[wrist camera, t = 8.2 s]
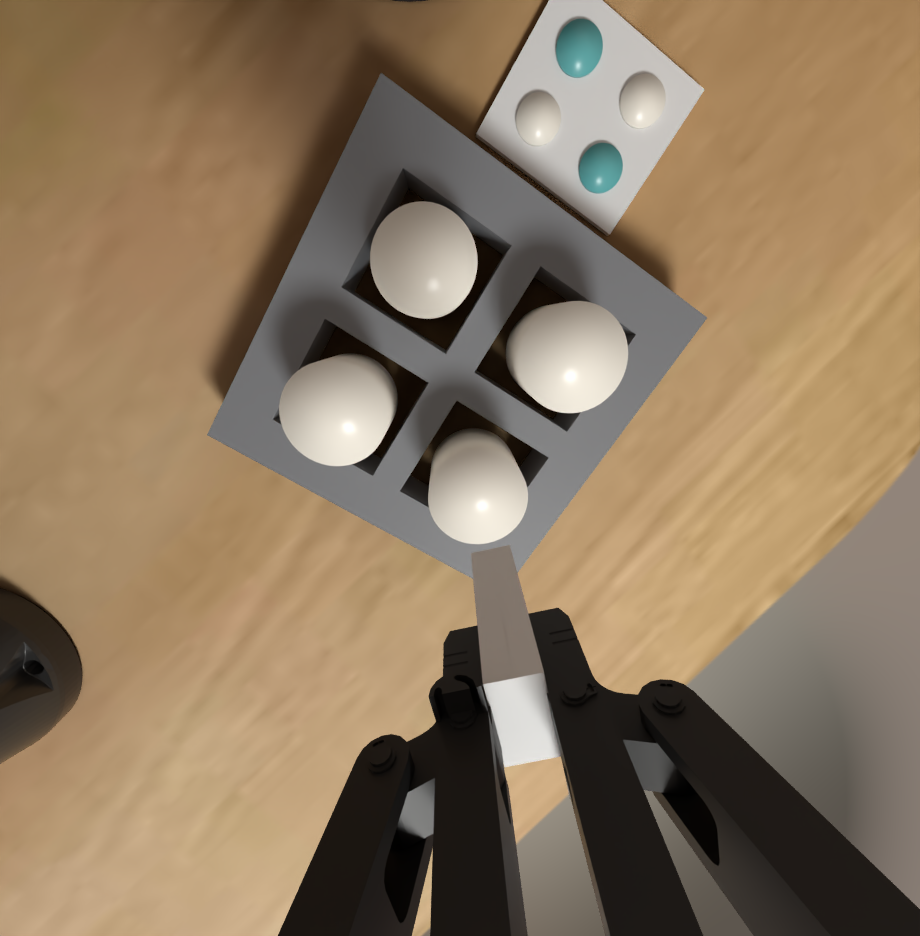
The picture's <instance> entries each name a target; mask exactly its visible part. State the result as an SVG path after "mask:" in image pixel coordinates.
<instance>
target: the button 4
mask: <svg viewBox="0 0 920 936" xmlns="http://www.w3.org/2000/svg"><path fill="white" fill-rule="evenodd" d="M506 362H507V366H508V369H509V372H510V374H511V376H512V378H513V379H514V381H515V382H516V383H517V384H518V385H519V386H520V387H521V388H522V389H523V390H524V391H526V392H527V393H528V394H529V395H530V396H531V397H532V398H533V399H535V400H536V401H537V402H538V403H540V404H541V405H542V406H544V407H546V408H548V409H550V410H553V411H556V412H560V413H578V412H583V411H586V410H589V409H591V408H594V407H596V406H597V405H599V404H601V403H602V402H603V401H605V400H606V399H607V398H608V397H609V396H610V395H611V394H612V393H613V392H614V391H615V390H616V388H617V387H618V385H619V384H620V382H621V380H622V378H623V376H624V373H625V370H626V366H627V362H628V344H627V339H626V336H625V333H624V331H623V328H622V326H621V325H620V323H619V322H618V320H617V319H616V318H615V317H614V316H613V315H612V314H611V313H610V312H609V311H608V310H606V309H605V308H603V307H601V306H599V305H597V304H594V303H591V302H586V301H570V302H564V303H558V304H552V305H546V306H541V307H538V308H535V309H533V310H531V311H530V312H528V313H526V314H525V315H524V316H523V317H522V318H521V319H520V320H519V321H518V322H517V323H516V324H515V326H514V327H513V329H512V331H511V333H510V335H509V338H508V341H507V345H506Z"/></svg>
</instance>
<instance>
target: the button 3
mask: <svg viewBox="0 0 920 936" xmlns="http://www.w3.org/2000/svg"><path fill="white" fill-rule="evenodd" d="M527 503H528V490H527V485H526V482H525V479H524V477H523V475H522V473H521V471H520V469H519V467H518V465H517V463H516V461H515V459H514V457H513V455H512V453H511V451H510V449H509V447H508V446H507V444H506V443H505V442H504V441H503V440H502V439H501V438H500V437H499V436H497V435H496V434H494V433H492V432H490V431H487V430H484V429H478V428H469V429H463V430H460V431H457V432H455V433H453V434H451V435H449V436H448V437H447V438H445V439H444V440H443V441H442V442H441V443H440V445H439V446H438V447H437V449H436V451H435V453H434V456H433V459H432V464H431V473H430V483H429V492H428V505H429V510H430V513H431V516H432V518H433V520H434V521H435V523H436V524H437V526H438V527H439V528H440V529H441V530H442V531H443V532H444V533H445V534H447V535H448V536H450V537H451V538H453V539H455V540H457V541H460V542H463V543H468V544H485V543H490V542H494V541H496V540H499V539H501V538H503V537H505V536H506V535H508V534H509V533H510V532H512V531H513V530H514V529H515V528H516V527H517V525H518V524H519V523H520V521H521V520H522V518H523V516H524V514H525V511H526V508H527Z"/></svg>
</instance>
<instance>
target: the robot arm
mask: <svg viewBox="0 0 920 936" xmlns="http://www.w3.org/2000/svg"><path fill="white" fill-rule="evenodd" d="M471 560H472V571H473V582H474V593H475V603H476V614H477V625H478V626H473V627H468V628H463V629H458V630H454V631H450V632H449V634H448V636H447V638H446V640H445V642H444V654H443V656H444V658H443V667H444V668H443V677H442V678H440V679H439V680H437V681H436V682H435V684H434V685H433V686H432V688H431V690H430V693H429V700H430V703H431V706H432V709H433V713H434V716H435V719H436V723H435V724H434V725H433V726H432V727H431V728H430V729H429V730H428V731H426V732H425V733H423V734H421V735H420V736H418V737H416V738H414V739H412V740H410V741H408V742H406V741H405V740H404V739H403V738H402V737H401V736H397V735H393V734H390V735H384V736H381V737H379V738H377V739H375V740H372V741H371V742H370V743H369V744H368V745H367V746H365V747H364V748H363V750H362V751H361V753H360V754H359V756H358V757H357V759H356V762H355V764H354V766H353V768H352V771H351V773H350V775H349V777H348V780H347V782H346V784H345V786H344V789H343V791H342V793H341V795H340V798H339V800H338V802H337V804H336V806H335V809H334V811H333V813H332V815H331V818H330V820H329V822H328V824H327V827H326V829H325V831H324V833H323V836H322V838H321V840H320V842H319V845H318V847H317V849H316V851H315V854H314V856H313V858H312V860H311V863H310V865H309V867H308V869H307V872H306V874H305V876H304V878H303V880H302V883H301V885H300V887H299V889H298V892H297V894H296V896H295V898H294V901H293V903H292V905H291V907H290V910H289V912H288V914H287V916H286V919H285V921H284V923H283V925H282V928H281V930H280V932H279V934H278V936H412V932H413V928H414V924H415V920H416V915H417V911H418V907H419V903H420V898H421V894H422V890H423V886H424V882H425V877H426V873H427V869H428V865H429V861H430V856H431V852H432V848H433V862H432V896H431V930H430V931H431V932H430V936H528V935H527V927H526V919H525V911H524V905H523V897H522V888H521V881H520V873H519V865H518V857H517V850H516V842H515V834H514V826H513V819H512V811H511V803H510V795H509V788H508V784H507V780H506V777H505V772H504V766H505V767H508V766H513V765H518V764H524V763H529V762H534V761H539V760H545V759H550V758H555V757H560V756H561V759H562V763H563V768H564V772H565V777H566V782H567V787H568V791H569V796H570V799H571V801H572V805H573V809H574V813H575V817H576V821H577V825H578V829H579V833H580V836H581V841H582V844H583V849H584V853H585V857H586V860H587V865H588V869H589V873H590V876H591V881H592V885H593V888H594V893H595V896H596V901H597V904H598V908H599V912H600V916H601V920H602V924H603V928H604V932H605V936H703V934H702V932H701V929H700V927H699V924H698V922H697V919H696V917H695V914H694V912H693V910H692V907H691V905H690V902H689V900H688V897H687V895H686V893H685V890H684V888H683V885H682V883H681V880H680V878H679V875H678V873H677V871H676V868H675V866H674V863H673V861H672V858H671V856H670V853H669V851H668V849H667V846H666V844H665V842H664V839H663V836H662V834H661V832H660V829H659V827H658V824H657V822H656V819H655V817H654V815H653V812H652V810H651V807H650V805H649V802H648V800H647V798H646V795H645V793H644V790H648V791H653V793H654V795H655V797H656V798H657V800H658V801H659V803H660V804H661V805H662V807H663V808H664V810H665V811H666V812H667V814H668V815H669V817H670V818H671V820H672V821H673V822H674V824H675V825H676V827H677V828H678V829H679V831H680V832H681V834H682V835H683V836H684V838H685V839H686V841H687V842H688V844H689V845H690V846H691V847H692V849H693V851H694V852H695V853H696V855H697V856H698V858H699V859H700V860H701V862H702V863H703V865H704V866H705V868H706V869H707V870H708V872H709V873H710V874H711V876H712V877H713V879H714V880H715V881H716V883H717V884H718V886H719V887H720V889H721V890H722V891H723V893H724V894H725V896H726V897H727V899H728V900H729V901H730V903H731V904H732V906H733V907H734V909H735V910H736V911H737V913H738V914H739V916H740V917H741V918H742V920H743V921H744V923H745V924H746V925H747V927H748V928H749V930H750V931H751V933H752V934H753V935H754V936H920V909H919V908H918V907H917V906H916V905H915V904H914V903H913V902H911V900H909V899H908V898H907V897H906V896H905V895H904V894H903V893H902V892H901V891H900V890H899V889H898V888H897V887H896V886H895V885H894V884H893V883H892V882H891V881H890V880H889V879H888V878H887V877H886V876H884V875H883V873H882V872H880V871H879V870H878V869H877V868H876V867H875V866H874V865H873V864H872V863H871V862H870V861H869V860H868V859H867V858H866V857H865V856H864V855H863V854H862V853H861V852H860V851H859V850H858V849H856V848H855V847H854V845H852V844H851V843H850V842H849V841H848V840H847V839H846V838H845V837H844V836H843V835H842V834H841V833H840V832H839V831H838V830H837V829H836V828H835V827H834V826H833V825H832V824H831V823H830V822H829V821H827V820H826V818H824V817H823V816H822V815H821V814H820V813H819V812H818V811H817V810H816V809H815V808H814V807H813V806H812V805H811V804H810V803H809V802H808V801H807V800H806V799H805V798H804V797H803V796H802V795H800V793H799V792H798V791H796V790H795V789H794V788H793V787H792V786H791V785H790V784H789V783H788V782H787V781H786V780H785V779H784V778H783V777H782V776H781V775H780V774H779V773H778V772H777V771H776V770H775V769H774V768H773V767H772V766H770V764H768V763H767V762H766V761H765V760H764V759H763V758H762V757H761V756H760V755H759V754H758V753H757V752H756V751H755V750H754V749H753V748H752V747H751V746H750V745H749V744H748V743H747V742H746V741H744V739H742V737H740V736H739V735H738V734H737V733H736V732H735V731H734V730H733V729H732V728H731V727H730V726H729V725H728V724H727V723H726V722H725V721H724V720H723V719H722V718H721V717H720V716H719V715H718V714H717V713H716V712H714V710H712V709H711V708H710V707H709V706H708V705H707V704H706V703H705V702H704V701H703V700H702V699H701V698H700V697H699V696H698V695H697V694H696V693H695V692H694V691H693V690H691V689H690V688H688V687H687V686H686V685H684V684H682V683H679V682H676V681H673V680H661V679H660V680H656V681H652V682H649V683H648V684H646V685H645V686H643V687H642V689H641V691H640V692H639V694H638V695H635V694H623V693H617V692H614V691H611V690H608V689H606V688H605V687H603V686H601V685H600V684H599V683H598V682H597V681H596V680H595V678H594V677H593V675H592V673H591V670H590V668H589V665H588V663H587V661H586V658H585V656H584V653H583V651H582V648H581V646H580V643H579V641H578V639H577V636H576V633H575V631H574V629H573V626H572V623H571V621H570V618H569V616H568V615H566V614H565V613H564V612H563V611H562V610H560V609H559V608H554V609H550V610H545V611H540V612H535V613H530V614H528V611H527V607H526V603H525V600H524V596H523V592H522V589H521V585H520V581H519V577H518V574H517V570H516V566H515V563H514V559H513V555H512V551H511V548H510V545H507V546H502V547H497V548H493V549H488V550H483V551H479V552H474V553H471ZM81 685H82V670H81V664H80V661H79V657H78V655H77V652H76V650H75V648H74V646H73V644H72V642H71V641H70V639H69V638H68V636H67V635H66V634H65V632H64V631H63V630H62V629H61V627H60V626H59V625H58V624H57V623H56V622H55V621H54V620H53V619H52V618H51V617H50V616H48V615H47V614H46V613H45V612H44V611H42V610H41V609H40V608H38V607H37V606H35V605H34V604H32V603H31V602H29V601H27V600H26V599H24V598H22V597H20V596H18V595H16V594H14V593H11V592H9V591H6V590H4V589H1V588H0V764H1V763H2V762H4V761H6V760H7V759H9V758H11V757H12V756H14V755H16V754H17V753H19V752H20V751H22V750H24V749H25V748H27V747H29V746H30V745H32V744H34V743H35V742H37V741H38V740H40V739H41V738H42V737H43V736H45V735H46V734H47V733H48V732H49V731H50V730H51V729H52V728H53V727H54V726H55V725H56V724H57V723H58V722H59V721H60V720H61V719H62V718H63V717H64V716H65V715H66V714H67V713H68V712H69V711H70V710H71V708H72V707H73V706H74V704H75V702H76V701H77V699H78V696H79V694H80V690H81ZM503 762H504V764H503Z"/></svg>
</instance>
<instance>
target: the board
mask: <svg viewBox="0 0 920 936" xmlns="http://www.w3.org/2000/svg"><path fill="white" fill-rule="evenodd" d="M408 189H410V190H412V191H413V192H414V193H416V194H417V195H419V196H420V197H422V198H423V199H424V200H426V201H427V202H433V203H437V204H440V205H442V206H444V207H446V208H448V209H450V210H451V211H453V212H454V213H455V214H457V215H458V216H459V217H460V218H461V219H462V220H463V222H464V223H465V224H466V226H467V227H468V229H469V231H470V232H471V233H472V234H474V235H475V236H477V237H478V238H480V239H481V240H482V241H484V242H485V243H487V244H488V245H489V246H491V247H492V248H494V249H495V250H497V251H498V252H499V253H501V254H502V255H503V256H502V258H501V260H500V261H499V263H498V265H497V266H496V268H495V270H494V271H493V273H492V275H491V276H490V278H489V280H488V281H487V283H486V285H485V286H484V288H483V290H482V291H481V293H480V295H479V296H478V298H477V300H476V301H475V303H474V305H473V306H472V308H471V310H470V311H469V313H468V315H467V316H466V318H465V320H464V321H463V323H462V325H461V326H460V328H459V330H458V331H457V333H456V335H455V336H454V338H453V340H452V341H451V343H450V345H449V346H448V348H447V350H445V349H443V348H442V347H440V346H439V345H437V344H435V343H434V342H432V341H431V340H429V339H428V338H426V337H424V336H423V335H421V334H420V333H418V332H417V331H415V330H414V329H412V328H410V327H409V326H407V325H406V324H404V323H403V322H401V321H400V320H398V319H396V318H395V317H393V316H392V315H390V314H389V313H387V312H386V311H384V310H382V309H381V308H379V307H378V306H376V305H375V304H373V303H372V302H370V301H368V300H367V299H365V298H364V297H362V296H361V295H359V294H358V293H356V292H355V290H356V288H357V286H358V284H359V282H360V280H361V278H362V277H363V275H364V273H365V271H366V269H367V267H368V265H369V263H370V251H371V245H372V241H373V238H374V235H375V233H376V231H377V229H378V227H379V226H380V224H381V223H382V221H383V220H384V219H385V218H386V217H387V216H388V215H389V214H390V213H391V212H392V211H394V210H395V209H397V208H399V206H400V204H401V202H402V200H403V199H404V197H405V195H406V193H407V191H408ZM534 277H535V278H536V279H538V280H539V281H540V282H542V283H543V284H545V285H546V286H547V287H549V288H550V289H552V290H553V291H555V292H556V293H557V294H559V295H560V296H562V297H563V298H564V299H566V300H567V301H569V302H570V301H586V302H591V303H594V304H597V305H599V306H601V307H603V308H605V309H606V310H608V311H609V312H610V313H611V314H612V315H613V316H614V317H615V318H616V319H617V320H618V322H619V323H620V325H621V326H622V328H623V331H624V333H625V336H626V339H627V344H628V362H627V366H626V370H625V373H624V376H623V378H622V380H621V382H620V384H619V385H618V387H617V388H616V390H615V391H614V392H613V393H612V394H611V395H610V396H609V397H608V398H607V399H606V400H605V401H603V402H602V403H601V404H599V405H597V406H596V407H594V408H591V409H589V410H586V411H583V412H578V413H560V412H558V413H557V414H556V416H555V417H554V419H552V418H551V417H549V416H547V415H546V414H544V413H543V412H541V411H540V410H538V409H537V408H535V407H533V406H532V405H530V404H529V403H527V402H526V401H524V400H523V399H521V398H519V397H518V396H516V395H515V394H513V393H512V392H510V391H509V390H507V389H505V388H504V387H502V386H501V385H499V384H498V383H496V382H495V381H493V380H491V379H490V378H488V377H487V376H485V375H484V374H482V373H481V372H479V371H477V370H476V369H477V367H478V366H479V364H480V362H481V361H482V359H483V358H484V356H485V354H486V353H487V351H488V350H489V348H490V346H491V345H492V343H493V342H494V340H495V338H496V337H497V335H498V334H499V332H500V330H501V329H502V327H503V326H504V324H505V322H506V321H507V319H508V318H509V316H510V314H511V313H512V311H513V310H514V308H515V306H516V305H517V303H518V302H519V300H520V298H521V297H522V295H523V294H524V292H525V290H526V289H527V287H528V286H529V284H530V282H531V281H532V279H533V278H534ZM706 319H707V317H706V316H704V315H703V314H702V313H700V312H699V311H698V310H696V309H695V308H694V307H692V306H691V305H690V304H688V303H687V302H686V301H684V300H683V299H682V298H680V297H679V296H678V295H676V294H675V293H674V292H672V291H671V290H670V289H668V288H667V287H666V286H664V285H663V284H662V283H660V282H659V281H658V280H656V279H655V278H654V277H652V276H651V275H650V274H648V273H647V272H646V271H644V270H643V269H642V268H640V267H639V266H638V265H636V264H635V263H634V262H632V261H631V260H630V259H628V258H627V257H626V256H624V255H623V254H622V253H620V252H619V251H618V250H616V249H615V248H614V247H612V246H611V245H610V244H608V243H607V242H606V241H604V240H603V239H602V238H600V237H599V236H598V235H596V234H595V233H594V232H592V231H591V230H590V229H588V228H587V227H586V226H584V225H583V224H582V223H580V222H579V221H578V220H576V219H575V218H574V217H572V216H571V215H570V214H568V213H567V212H566V211H564V210H563V209H562V208H560V207H559V206H558V205H556V204H555V203H554V202H553V201H551V200H550V199H549V198H547V197H546V196H545V195H543V194H542V193H541V192H539V191H538V190H537V189H535V188H534V187H533V186H531V185H530V184H529V183H527V182H526V181H525V180H523V179H522V178H521V177H519V176H518V175H517V174H515V173H514V172H513V171H511V170H510V169H509V168H507V167H506V166H505V165H503V164H502V163H501V162H499V161H498V160H497V159H495V158H494V157H493V156H491V155H490V154H489V153H487V152H486V151H485V150H483V149H482V148H481V147H479V146H478V145H477V144H475V143H474V142H473V141H471V140H470V139H469V138H467V137H466V136H465V135H463V134H462V133H461V132H459V131H458V130H457V129H455V128H454V127H453V126H451V125H450V124H449V123H447V122H446V121H445V120H443V119H442V118H441V117H439V116H438V115H437V114H435V113H434V112H433V111H431V110H430V109H429V108H427V107H426V106H425V105H423V104H422V103H421V102H419V101H418V100H417V99H415V98H414V97H413V96H411V95H410V94H409V93H407V92H406V91H405V90H403V89H402V88H401V87H399V86H398V85H397V84H395V83H394V82H393V81H391V80H390V79H389V78H387V77H386V76H385V75H383V74H382V73H381V74H380V76H379V78H378V80H377V82H376V84H375V86H374V88H373V90H372V92H371V95H370V97H369V99H368V101H367V103H366V105H365V107H364V109H363V111H362V113H361V115H360V117H359V120H358V122H357V124H356V126H355V128H354V130H353V132H352V134H351V136H350V138H349V140H348V142H347V145H346V147H345V149H344V151H343V153H342V155H341V157H340V159H339V161H338V163H337V165H336V168H335V170H334V172H333V174H332V176H331V178H330V180H329V182H328V184H327V186H326V188H325V190H324V193H323V195H322V197H321V199H320V201H319V203H318V205H317V207H316V209H315V211H314V213H313V215H312V218H311V220H310V222H309V224H308V226H307V228H306V230H305V232H304V234H303V236H302V238H301V240H300V243H299V245H298V247H297V249H296V251H295V253H294V255H293V257H292V259H291V261H290V263H289V265H288V268H287V270H286V272H285V274H284V276H283V278H282V280H281V282H280V284H279V286H278V288H277V291H276V293H275V295H274V297H273V299H272V301H271V303H270V305H269V307H268V309H267V311H266V313H265V316H264V318H263V320H262V322H261V324H260V326H259V328H258V330H257V332H256V334H255V336H254V338H253V341H252V343H251V345H250V347H249V349H248V351H247V353H246V355H245V357H244V359H243V361H242V363H241V366H240V368H239V370H238V372H237V374H236V376H235V378H234V380H233V382H232V384H231V386H230V388H229V391H228V393H227V395H226V397H225V399H224V401H223V403H222V405H221V407H220V409H219V411H218V414H217V416H216V418H215V420H214V422H213V424H212V426H211V428H210V430H209V432H208V434H207V435H208V436H210V437H212V438H214V439H216V440H217V441H219V442H221V443H223V444H225V445H227V446H228V447H230V448H232V449H234V450H236V451H238V452H240V453H241V454H243V455H245V456H247V457H249V458H251V459H252V460H254V461H256V462H258V463H260V464H262V465H264V466H265V467H267V468H269V469H271V470H273V471H275V472H277V473H278V474H280V475H282V476H284V477H286V478H288V479H289V480H291V481H293V482H295V483H297V484H299V485H301V486H302V487H304V488H306V489H308V490H310V491H312V492H313V493H315V494H317V495H319V496H321V497H323V498H325V499H326V500H328V501H330V502H332V503H334V504H336V505H338V506H339V507H341V508H343V509H345V510H347V511H349V512H350V513H352V514H354V515H356V516H358V517H360V518H362V519H363V520H365V521H367V522H369V523H371V524H373V525H375V526H376V527H378V528H380V529H382V530H384V531H386V532H387V533H389V534H391V535H393V536H395V537H397V538H399V539H400V540H402V541H404V542H406V543H408V544H410V545H411V546H413V547H415V548H417V549H419V550H421V551H423V552H424V553H426V554H428V555H430V556H432V557H434V558H436V559H437V560H439V561H441V562H443V563H445V564H447V565H448V566H450V567H452V568H454V569H456V570H458V571H460V572H461V573H463V574H465V575H467V576H469V577H471V578H472V579H473V571H472V560H471V553H474V552H479V551H483V550H488V549H493V548H497V547H502V546H507V545H510V548H511V551H512V555H513V559H514V563H515V566H516V570H517V573H518V571H519V570H520V569H521V567H522V566H523V565H524V563H525V562H526V560H527V559H528V558H529V556H530V555H531V554H532V552H533V551H534V550H535V548H536V547H537V546H538V544H539V543H540V542H541V540H542V539H543V538H544V536H545V535H546V534H547V532H548V531H549V530H550V528H551V527H552V526H553V524H554V523H555V522H556V520H557V519H558V518H559V516H560V515H561V514H562V512H563V511H564V509H565V508H566V507H567V505H568V504H569V503H570V501H571V500H572V499H573V497H574V496H575V495H576V493H577V492H578V491H579V489H580V488H581V487H582V485H583V484H584V483H585V481H586V480H587V479H588V477H589V476H590V475H591V473H592V472H593V471H594V469H595V468H596V467H597V465H598V464H599V462H600V461H601V460H602V458H603V457H604V456H605V454H606V453H607V452H608V450H609V449H610V448H611V446H612V445H613V444H614V442H615V441H616V440H617V438H618V437H619V436H620V434H621V433H622V432H623V430H624V429H625V428H626V426H627V425H628V424H629V422H630V421H631V420H632V418H633V417H634V416H635V414H636V413H637V411H638V410H639V409H640V407H641V406H642V405H643V403H644V402H645V401H646V399H647V398H648V397H649V395H650V394H651V393H652V391H653V390H654V389H655V387H656V386H657V385H658V383H659V382H660V381H661V379H662V378H663V377H664V375H665V374H666V373H667V371H668V370H669V369H670V367H671V366H672V364H673V363H674V362H675V360H676V359H677V358H678V356H679V355H680V354H681V352H682V351H683V350H684V348H685V347H686V346H687V344H688V343H689V342H690V340H691V339H692V338H693V336H694V335H695V334H696V332H697V331H698V330H699V328H700V327H701V326H702V324H703V323H704V322H705V320H706ZM336 326H338V327H339V328H341V329H343V330H344V331H346V332H347V333H349V334H351V335H352V336H354V337H355V338H357V339H359V340H360V341H362V342H364V343H365V344H367V345H368V346H370V347H372V348H373V349H375V350H376V351H378V352H380V353H381V354H383V355H384V356H386V357H388V358H389V359H391V360H392V361H394V362H396V363H397V364H399V365H401V366H402V367H404V368H405V369H407V370H409V371H410V372H412V373H413V374H415V375H417V376H418V377H420V378H421V379H423V380H425V381H426V382H427V383H426V385H425V386H424V388H423V390H422V391H421V393H420V395H419V396H418V398H417V400H416V401H415V403H414V405H413V406H412V408H411V410H410V411H409V413H408V415H407V416H406V418H405V420H404V421H403V423H402V425H401V426H400V428H399V430H398V431H397V433H396V435H395V436H394V438H393V440H392V441H391V443H390V445H389V446H388V448H387V450H386V451H385V453H384V455H383V456H382V458H380V457H378V456H376V455H374V454H373V453H372V454H370V455H369V456H368V457H366V458H365V459H363V460H362V461H359V462H357V463H354V464H351V465H346V466H329V465H324V464H320V463H317V462H315V461H313V460H311V459H309V458H307V457H306V456H304V455H303V454H302V453H300V452H299V451H298V450H297V449H296V448H295V447H294V446H293V445H292V444H291V442H290V441H289V440H288V438H287V436H286V434H285V432H284V430H283V428H282V424H281V421H280V415H279V404H280V398H281V394H282V391H283V389H284V387H285V385H286V383H287V382H288V380H289V379H290V378H291V377H292V375H293V374H295V373H296V372H297V371H298V370H300V369H301V368H303V367H304V366H306V365H308V364H311V363H314V362H317V361H318V360H319V358H320V356H321V355H322V353H323V351H324V349H325V347H326V345H327V343H328V341H329V339H330V337H331V335H332V334H333V332H334V330H335V328H336ZM456 401H458V402H460V403H462V404H463V405H465V406H466V407H468V408H470V409H471V410H473V411H475V412H476V413H478V414H479V415H481V416H483V417H484V418H486V419H487V420H489V421H491V422H492V423H494V424H495V425H497V426H499V427H500V428H502V429H503V430H505V431H507V432H508V433H510V434H512V435H513V436H515V437H516V438H518V439H520V440H521V441H523V442H524V443H526V444H528V445H529V446H531V447H532V448H533V449H532V450H531V452H530V453H529V455H528V456H527V457H526V459H525V460H524V462H523V463H522V465H521V466H520V467H519V469H520V471H521V473H522V475H523V477H524V479H525V482H526V485H527V490H528V503H527V508H526V511H525V514H524V516H523V518H522V520H521V521H520V523H519V524H518V525H517V527H516V528H515V529H514V530H513V531H512V532H510V533H509V534H508V535H506V536H505V537H503V538H501V539H499V540H496V541H494V542H490V543H485V544H468V543H463V542H460V541H457V540H455V539H453V538H451V537H450V536H448V535H447V534H445V533H444V532H443V531H442V530H441V529H440V528H439V527H438V526H437V524H436V523H435V521H434V520H433V518H432V516H431V513H430V510H429V505H428V492H429V485H427V484H425V483H423V482H422V481H420V480H418V479H416V478H415V477H413V476H411V475H410V474H411V473H412V471H413V469H414V468H415V466H416V465H417V463H418V461H419V460H420V458H421V457H422V455H423V453H424V452H425V450H426V449H427V447H428V445H429V444H430V442H431V441H432V439H433V437H434V436H435V434H436V433H437V431H438V429H439V428H440V426H441V425H442V423H443V421H444V420H445V418H446V417H447V415H448V413H449V412H450V410H451V409H452V407H453V405H454V404H455V402H456Z"/></svg>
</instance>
